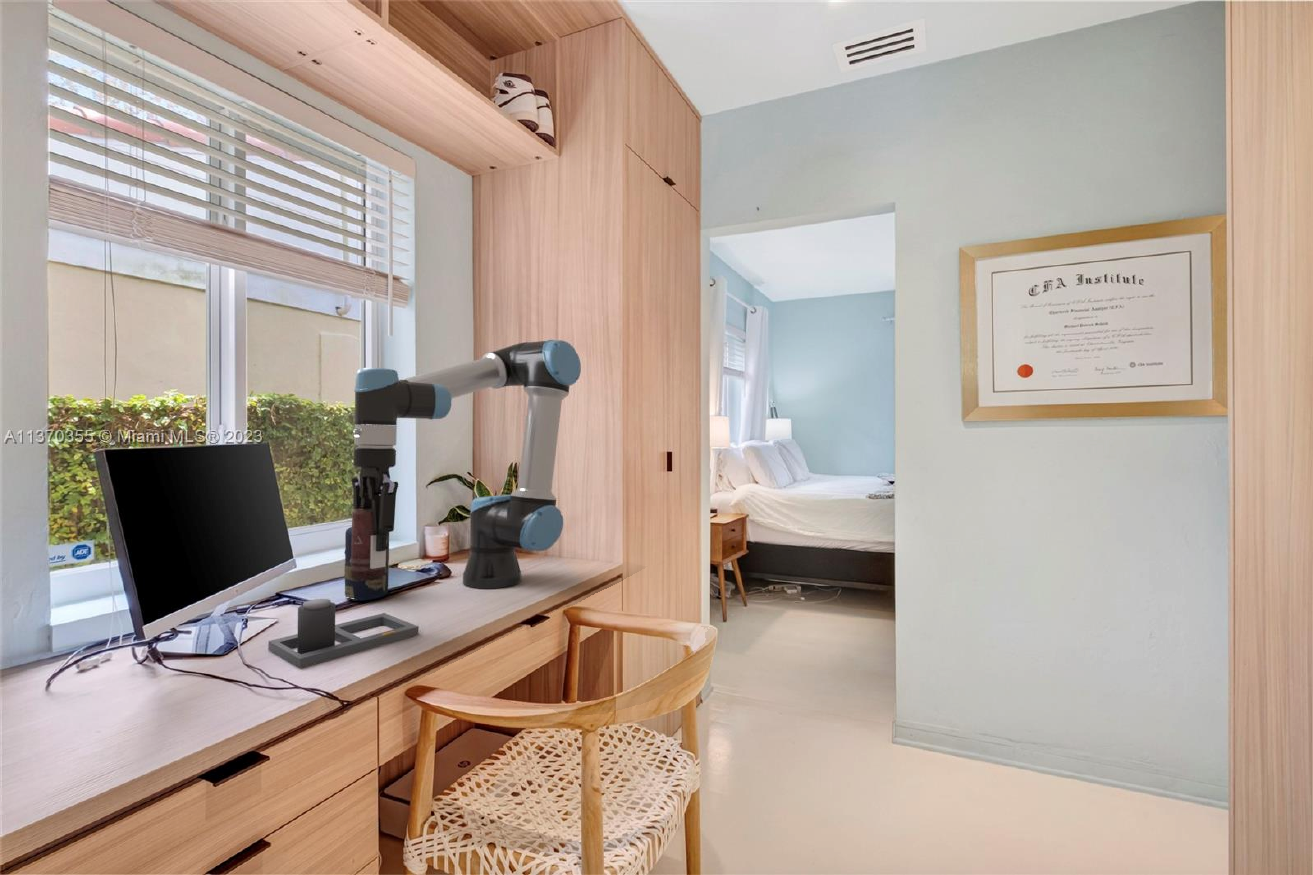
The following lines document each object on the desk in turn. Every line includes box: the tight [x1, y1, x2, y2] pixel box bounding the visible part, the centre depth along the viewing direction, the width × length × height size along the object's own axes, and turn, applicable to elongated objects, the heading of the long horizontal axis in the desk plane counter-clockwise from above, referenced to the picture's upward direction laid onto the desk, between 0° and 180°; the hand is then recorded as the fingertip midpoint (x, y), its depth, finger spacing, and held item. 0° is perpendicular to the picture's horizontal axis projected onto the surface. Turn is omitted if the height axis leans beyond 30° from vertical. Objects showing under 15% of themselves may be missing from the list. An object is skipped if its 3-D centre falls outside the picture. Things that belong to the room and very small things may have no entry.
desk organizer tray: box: [268, 612, 420, 669], centre depth 115 cm, size 22×13×2 cm, turn 143°
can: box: [351, 507, 385, 581], centre depth 119 cm, size 6×6×14 cm
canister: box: [343, 526, 390, 601], centre depth 143 cm, size 10×10×18 cm
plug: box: [296, 598, 336, 654], centre depth 110 cm, size 6×6×9 cm
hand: (372, 565), depth 118 cm, fingers open, 3 cm apart
